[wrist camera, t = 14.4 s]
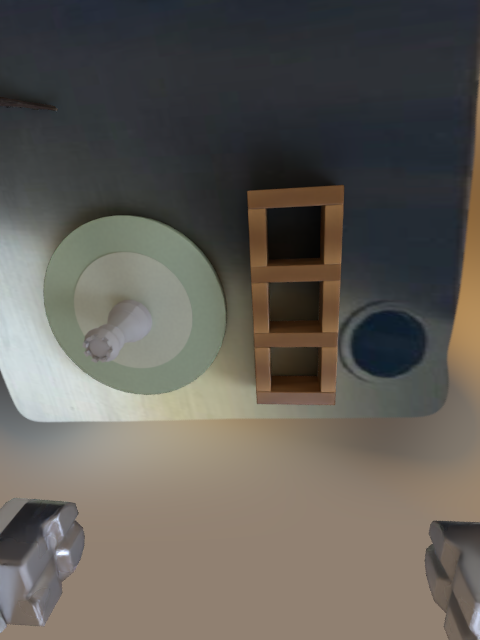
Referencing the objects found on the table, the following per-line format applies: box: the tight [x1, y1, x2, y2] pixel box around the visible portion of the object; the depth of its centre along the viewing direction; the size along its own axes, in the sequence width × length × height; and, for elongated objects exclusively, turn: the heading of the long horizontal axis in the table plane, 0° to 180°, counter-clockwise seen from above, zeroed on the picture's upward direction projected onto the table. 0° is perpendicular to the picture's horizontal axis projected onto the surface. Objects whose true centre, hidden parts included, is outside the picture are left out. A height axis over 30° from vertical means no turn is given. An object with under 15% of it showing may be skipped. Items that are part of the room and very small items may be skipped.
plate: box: [44, 215, 227, 395], centre depth 38 cm, size 20×20×1 cm
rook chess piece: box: [82, 300, 152, 363], centre depth 34 cm, size 4×4×8 cm
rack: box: [247, 185, 344, 405], centre depth 34 cm, size 21×8×4 cm, turn 3°
